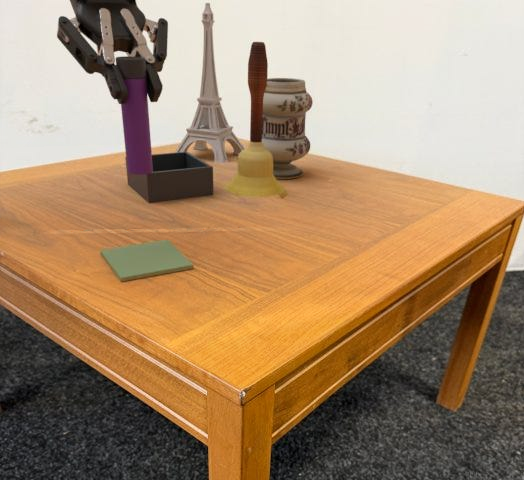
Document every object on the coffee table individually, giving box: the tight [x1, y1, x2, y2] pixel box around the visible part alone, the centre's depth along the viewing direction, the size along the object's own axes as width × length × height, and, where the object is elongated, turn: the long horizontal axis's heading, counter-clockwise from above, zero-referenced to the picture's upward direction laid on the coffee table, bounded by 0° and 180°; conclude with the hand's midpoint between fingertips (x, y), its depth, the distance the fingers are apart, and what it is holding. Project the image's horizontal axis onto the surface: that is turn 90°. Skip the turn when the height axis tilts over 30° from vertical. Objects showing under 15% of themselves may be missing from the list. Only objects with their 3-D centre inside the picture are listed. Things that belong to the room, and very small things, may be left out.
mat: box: [99, 239, 194, 283], centre depth 76 cm, size 10×10×1 cm
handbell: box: [224, 41, 288, 199], centre depth 98 cm, size 12×12×25 cm
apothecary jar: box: [262, 77, 314, 180], centre depth 112 cm, size 12×12×18 cm
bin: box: [124, 151, 214, 204], centre depth 101 cm, size 12×12×6 cm
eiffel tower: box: [173, 2, 246, 163], centre depth 119 cm, size 13×13×30 cm
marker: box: [115, 55, 153, 175], centre depth 67 cm, size 3×3×13 cm
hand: (140, 97), depth 64 cm, fingers closed on marker, 3 cm apart
